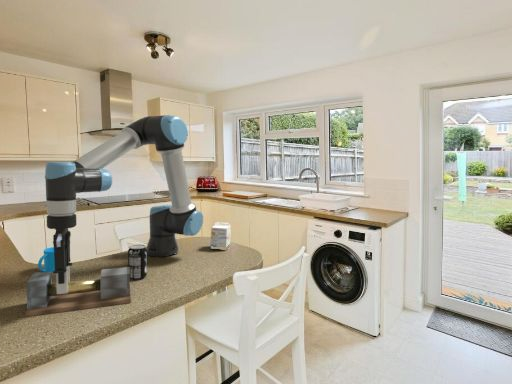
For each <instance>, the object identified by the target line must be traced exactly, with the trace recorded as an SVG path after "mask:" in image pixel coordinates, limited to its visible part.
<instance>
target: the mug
mask: <svg viewBox="0 0 512 384" xmlns="http://www.w3.org/2000/svg"><path fill="white" fill-rule="evenodd" d="M42 263H43V267H42ZM37 268H38V269H39V271H40V272H50V271H52V274H53V271H55V263H54V246H50V247H47V248H44V249H43V255H42V256H41V257H40V258H39V259H38V263H37Z"/></svg>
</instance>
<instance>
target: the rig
mask: <svg viewBox="0 0 512 384" xmlns="http://www.w3.org/2000/svg"><path fill="white" fill-rule="evenodd" d="M52 277H53V273H52V271H50V272H44V271H40V272H39V271H38V272H33V274H32V275H31V276H30V278H29V279H28V280H27V281H26V304H27V305H26V307H27V308H26V309H27V310H26V311H25V318H27V317H33V316H34V317H35V316H39V315H40V316H41V315H48V314H57V313H63V312H64V313H65V312H71V311H79V310H86V309H94V308H102V307H108V306H116V305H125V304H131V302H132V298H131V297H132V296H131V279H130V269H129V267H128V266H126V267H115V268H104V269H103V268H102V269H101V271H100V277H99V279H100V281H101V291H93V292H84V293H76V294H67V295H58V296H49V297H47V284H53V281H52V280H53V279H52Z"/></svg>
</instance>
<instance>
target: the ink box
mask: <svg viewBox="0 0 512 384" xmlns="http://www.w3.org/2000/svg"><path fill="white" fill-rule="evenodd" d="M210 230H211V231H210V247H211V246H213V247H227V246H228V245H229V244H230V245H231V234H232V233H231V232H232V225H231V224H230V223H229V222H220V221H215V222H214V225H213V226H212V227H210Z"/></svg>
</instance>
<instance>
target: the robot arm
mask: <svg viewBox="0 0 512 384" xmlns="http://www.w3.org/2000/svg"><path fill="white" fill-rule="evenodd" d="M188 134H189V132H188V127H187V124H186V123H185V121H184V120H183V119H181V117H179V116H177V115H173V114H172V115H170V114H163V115H153V116H152V115H149V116H143V117H142V118H139V119H137V120H136V121H133V122H132V123H130V124H128V125H127V126H125V127H122V129H121V131H120V133H118V134H116V135H115V136H113V137H112V138H110V139H108V140H106V141H104V142H103V143H101V144H100V145H98V146H96V147H95V148H93V149H91V150H90V151H88V152H86V153H85V154H83V155H81V156H80V157H77V159H75V160H73V161H70V162H69V161H49V162H47V163H46V164H45V169H44V171H45V173H44V174H45V175H44V179H45V197H46V201H45V202H44V204H43V205H44V207H46V214H47V216H46V227H47V228H48V229H50V230H55V232H54V234H53V236H52V238H53V239H52V240H53V241H52V245H53V247H54V263H55V271H53V273H52V275H53V274H54V275H55V276H56V277H55V279H56V281H55V283H56V285H57V294H64V293H68V282H71V278H70V275H71V274H70V267H73V262H71V236H72V234H71V231H70V230H69V229H72V228H74V227H76V226H77V214H76V213H77V194H80V193H96V192H97V193H98V192H99V193H101V192H105V191H108V190H110V189H111V187H112V186H113V175H112V174H111V171H109V170H108V169H106V168H105V167H107V166H109V165H110V164H112V163H113V162H114V161H116V160H118V159H119V158H121V157H122V156H124V155H125V154H127V153H128V152H130V151H132V150H137V149H139V148H141V147H142V146H145V145H146V146H148V145H154V146H155V150H156V152H158V153H159V154H161V155H160V156H161V159H162V165H163V169H164V173H165V178H166V183H167V188H168V193H169V197H170V203H171V204H164V205H163V204H162V205H155V206H152V207H151V208H150V211H149V239H148V242H147V245H146V247H145V248H146V249H147V256H149V257H154V256H155V258H157V257H158V258H160V257H161V258H163V257H162V256H166V257H169V256H168V255H172V254H175V253H177V252H178V251H179V245H178V241H177V239H176V235H180V236H181V235H183V236H186V237H187V236H191V237H194V236H196V235H197V234H198V233H199V232H200V231H201V229H202V227H203V224H204V215H203V213H202V212H201V211H200V210H197V207H196V204H195V202H193V201H192V197H191V193H190V189H189V188H190V187H189V183H188V182H189V181H188V179H187V178H188V177H187V171H186V167H185V162H184V161H185V160H184V156H183V149H184V147H185V143H186V141H187V139H188ZM178 253H179V252H178ZM178 253H177V254H178ZM175 255H176V254H175ZM172 256H173V255H172Z"/></svg>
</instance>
